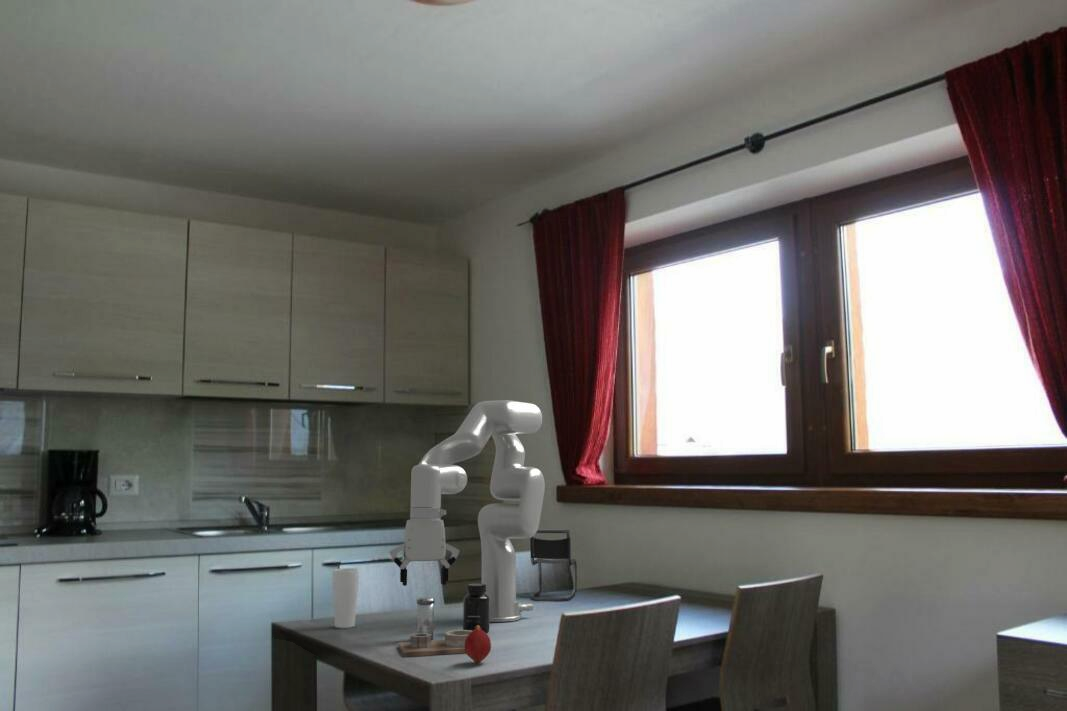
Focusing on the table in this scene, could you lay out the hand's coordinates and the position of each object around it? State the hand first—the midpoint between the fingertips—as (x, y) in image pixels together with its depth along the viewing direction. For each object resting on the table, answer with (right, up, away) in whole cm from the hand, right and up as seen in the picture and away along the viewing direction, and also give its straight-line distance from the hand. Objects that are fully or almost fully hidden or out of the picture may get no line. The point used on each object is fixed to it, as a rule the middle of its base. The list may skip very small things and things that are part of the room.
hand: (424, 584), depth 230 cm
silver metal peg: (0, -13, -1) cm, 13 cm away
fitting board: (+6, -12, -13) cm, 18 cm away
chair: (+34, -21, +69) cm, 79 cm away
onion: (+15, -10, -28) cm, 33 cm away
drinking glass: (-23, -16, +17) cm, 33 cm away
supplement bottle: (+12, -14, +8) cm, 21 cm away
